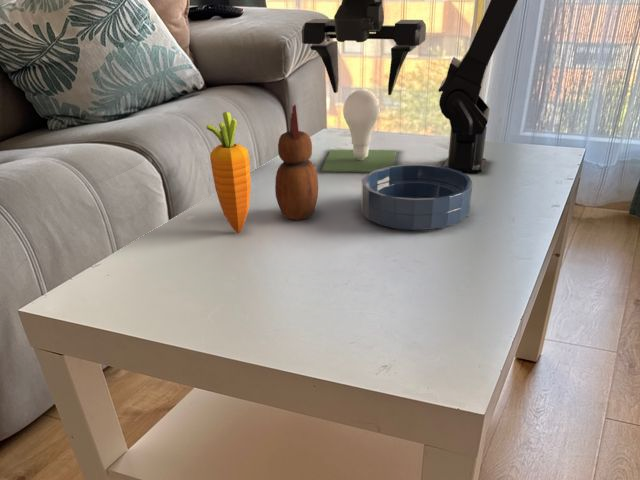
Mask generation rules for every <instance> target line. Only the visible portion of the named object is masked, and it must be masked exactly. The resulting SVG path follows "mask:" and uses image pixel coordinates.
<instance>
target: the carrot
mask: <svg viewBox="0 0 640 480" xmlns="http://www.w3.org/2000/svg"><path fill="white" fill-rule="evenodd" d="M222 118H223V121H221V122H219V123H218V126H219V129H220V130H219V129H218V128H217V127H216V126H215V125H212V124H210V123H208V124H207V125H206V127H205V129H206V130H207V131H210V132H212V133H213V134H214V135H215V137H216V138H217V139H218V140H219V142H220V143H221V144H218V145H217V146H215V147H214V148H213V149H212V150H211V152H210V157H209V159H210V160H209V161H210V165H211V173H212V178H213V183H214V189H215V192H216V195H217V199H218V202H219V204H220V208H221V211H222V213H223V215H224V217H225V219H226V220H227V222H228V224H229V225H230V227H231V228H232V230H233V231H234V232H235V233H237V234H239V233H241V232H242V230H243V228H244V225H245V223H246V221H247V218H248V217H247V216H248V213H249V210H250V201H251V188H252V187H251V186H252V185H251V165H250V155H249V150H248V149H247V148H246V147H245V146H243V145H241V144H239V143H235V140H234V139H235V134H236V130H237V125H238V121H237V120H236V119H235V118H232V115H231V113H230V112H229V111H224V112H222Z"/></svg>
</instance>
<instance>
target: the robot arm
mask: <svg viewBox="0 0 640 480" xmlns="http://www.w3.org/2000/svg"><path fill="white" fill-rule="evenodd" d="M518 1H519V0H490V1H489V2H488V6H487V8H486V10H485V11H484V14H483V15H482V19H481V21H480V22H479V25H478V28H477V30H476V32H475V35H474V36H473V39H472V41H471V43H470V46H469V48H468V50H467V51H466V52H465V54H464V55H463V57H462V58H461V59H460V60H459V59H458V58H456V57H455V56H453V57H452V59H451V61H450V63H449V65H448V70H447V74H446V77H445V78H443V80H442V81H441V83H440V86H439V88H438V90H437V91H438V92H439V93H441V94H440V97H439V100H438V101H439V103H438V104H439V109H440V113H441V114H442V115H443V116H444V118H446V119H447V120H448V121H449V124H450V135H449V146H448V157H447V158H446V159H445V160H446V161H445V162H444V164H443V165H442V167H447V168H451V169H454V170H457V171H460V172H463V173H464V172H465V173H483V171H484V168H485V165H486V163H487V159H486V158H484V152H485V145H486V144H485V143H486V136H487V128H488V127H487V125H488V122H489V115H490V110H491V109H490V107H489V105H488V104H487V103H486V102H485V101H484V99H483V98H482V97H481V96H480V94H481V90H482V86H483V84H484V80H485V77H486V73H487V71H488V70H487V69H488V66H489V63H490V60H491V59H492V56H493V54H494V53H495V52H494V51H495V50H496V47H497V45H498V43H499V41H500V40H501V37H502V35H503V33H504V32H505V28H506V27H507V25H508V23H509V20H510V18H511V16H512V14H513V12H514V9H515V7H516V5H517V3H518ZM383 3H384V0H341V2H340V5H339V7H338V8H337V10H336V12H335V14H334V16H333V18H313V19H310V20H307V21H306V22H305V23H304V24H303V25H302V27H301V44H303V45H310V46H309V48H310V50H311V51H315V52H317V54H318V55H319V57H320V59H321V60H322V62H323V65H324V67H325V70H326V73H327V76H328V79H329V82H330V86H331V88H332V92H333V93H334V94H337V93H338V92H339V83H340V82H339V80H340V79H339V48H338V44H339V43H345V42H356V43H364V42H366V41H367V40H393V41H394V42H395V45H393V46H392V47H391V48H390V57H391V58H390V66H389V76H388V83H387V95H388V96H391V95H392V94H393V91H394V89H395V86H396V84H397V80H398V77H399V75H400V72H401V69H402V66H403V64H404V62H405V60H406V58H407V56H408V54H409V53H410V52H412V51H413V50H414V49H416V48H417V46H421V44H423V43H424V42H425V41H426V35H427V25H426V23H425V21H424V19H400V20H398V21H397V22H395V23H394V25H391V24H390V25H384V24H385V23H384V21H385V11H384V6H383ZM334 39H336V40H334ZM338 42H339V43H338Z"/></svg>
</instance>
